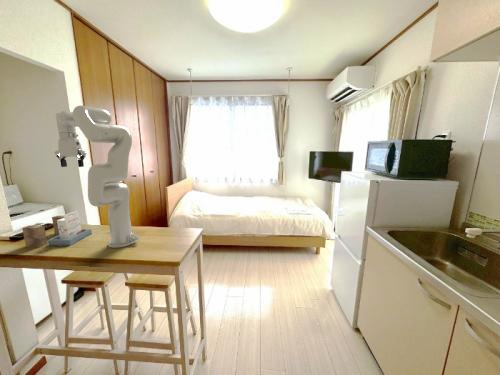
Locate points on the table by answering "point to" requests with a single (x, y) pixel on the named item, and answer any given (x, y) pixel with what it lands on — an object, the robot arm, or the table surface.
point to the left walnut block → (34, 236)
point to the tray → (68, 242)
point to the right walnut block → (56, 223)
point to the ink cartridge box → (69, 226)
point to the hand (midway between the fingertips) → (72, 166)
